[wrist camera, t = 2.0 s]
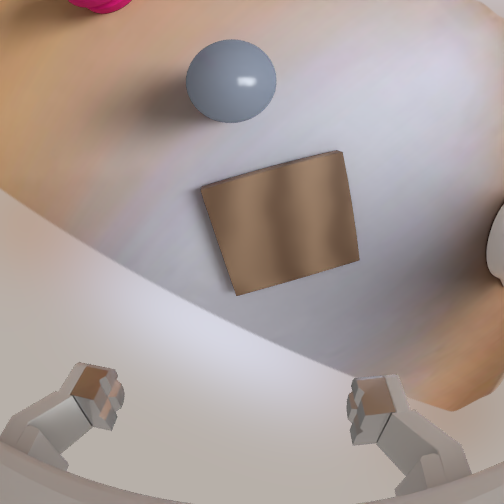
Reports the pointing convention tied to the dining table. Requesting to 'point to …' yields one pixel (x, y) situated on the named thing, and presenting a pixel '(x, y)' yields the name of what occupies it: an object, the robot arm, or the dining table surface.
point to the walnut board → (283, 221)
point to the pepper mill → (101, 5)
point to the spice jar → (231, 81)
